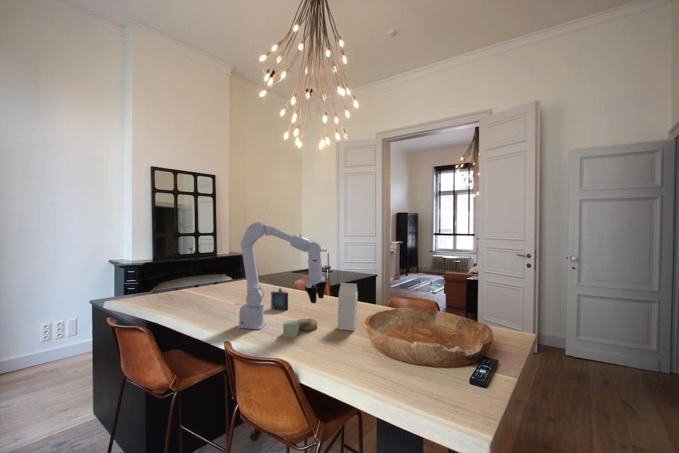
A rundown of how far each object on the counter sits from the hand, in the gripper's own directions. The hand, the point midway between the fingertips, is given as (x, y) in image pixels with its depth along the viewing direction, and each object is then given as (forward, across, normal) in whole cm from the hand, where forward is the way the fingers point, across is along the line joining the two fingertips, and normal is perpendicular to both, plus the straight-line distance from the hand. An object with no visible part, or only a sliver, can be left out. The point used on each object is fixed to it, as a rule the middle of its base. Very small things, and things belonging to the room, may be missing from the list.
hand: (317, 300), depth 135 cm
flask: (+9, +13, +28) cm, 32 cm away
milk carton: (+12, +2, -12) cm, 18 cm away
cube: (+10, -15, +5) cm, 19 cm away
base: (+10, -6, +3) cm, 12 cm away
